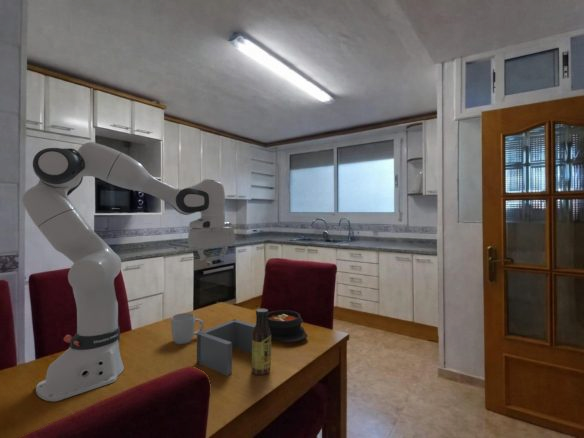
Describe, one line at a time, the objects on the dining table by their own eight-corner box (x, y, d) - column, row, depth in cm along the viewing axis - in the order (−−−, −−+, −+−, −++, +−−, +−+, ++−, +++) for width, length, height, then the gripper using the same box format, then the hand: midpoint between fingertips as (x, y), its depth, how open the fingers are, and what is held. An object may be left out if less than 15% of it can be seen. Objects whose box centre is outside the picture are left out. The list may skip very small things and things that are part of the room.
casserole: (318, 340, 126) (318, 319, 126) (279, 351, 116) (279, 329, 116) (285, 322, 147) (285, 304, 147) (250, 330, 137) (250, 311, 137)
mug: (173, 347, 118) (173, 321, 118) (169, 339, 126) (169, 315, 126) (206, 340, 125) (206, 316, 125) (200, 333, 133) (200, 310, 132)
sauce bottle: (267, 376, 97) (268, 314, 97) (248, 374, 99) (249, 312, 98) (273, 366, 104) (273, 308, 104) (255, 364, 105) (256, 306, 105)
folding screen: (227, 375, 98) (227, 344, 98) (196, 362, 107) (196, 333, 106) (263, 354, 113) (264, 327, 113) (234, 344, 121) (234, 319, 121)
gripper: (227, 222, 128) (227, 255, 128) (185, 223, 111) (185, 261, 111) (238, 222, 124) (238, 256, 124) (196, 223, 107) (196, 263, 108)
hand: (213, 259), depth 118 cm, fingers open, 8 cm apart
